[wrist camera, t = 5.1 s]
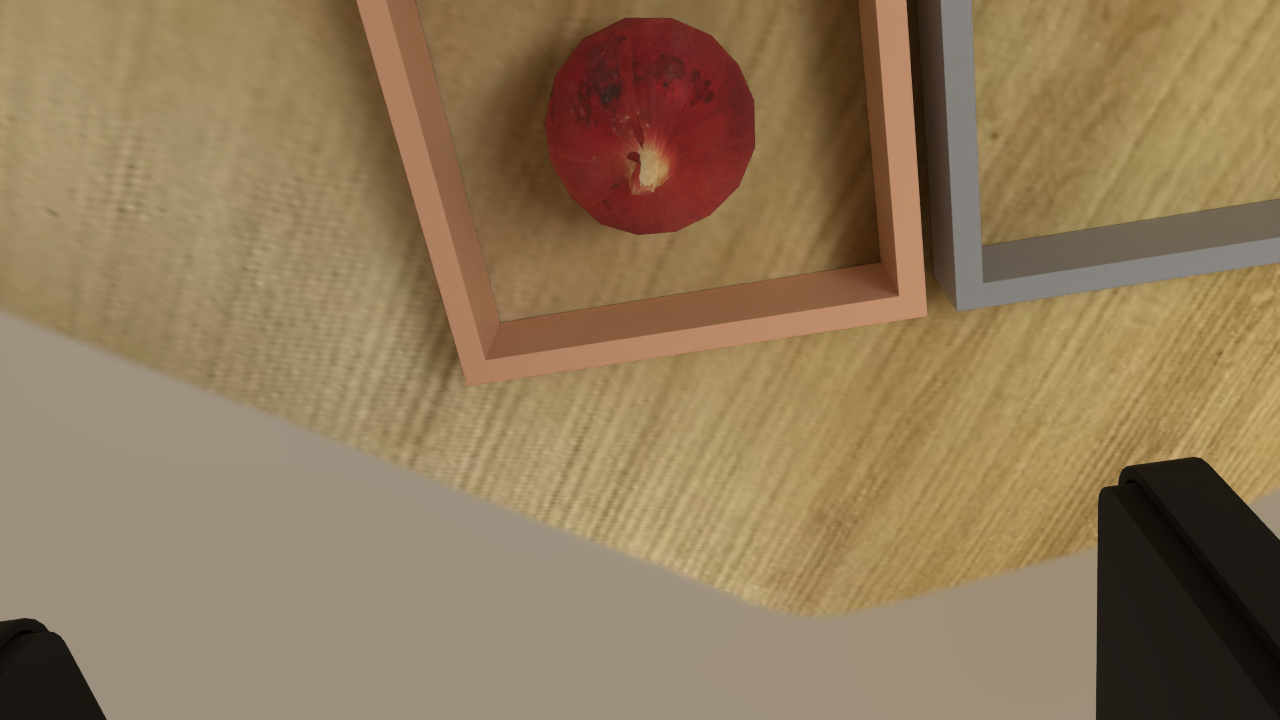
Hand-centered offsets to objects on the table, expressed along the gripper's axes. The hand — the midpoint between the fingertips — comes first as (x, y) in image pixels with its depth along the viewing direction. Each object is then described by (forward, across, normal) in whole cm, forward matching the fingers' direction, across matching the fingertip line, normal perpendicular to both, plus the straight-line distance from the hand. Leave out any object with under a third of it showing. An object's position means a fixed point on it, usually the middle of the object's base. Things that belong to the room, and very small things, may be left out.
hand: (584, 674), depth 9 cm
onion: (+25, 0, 0) cm, 25 cm away
